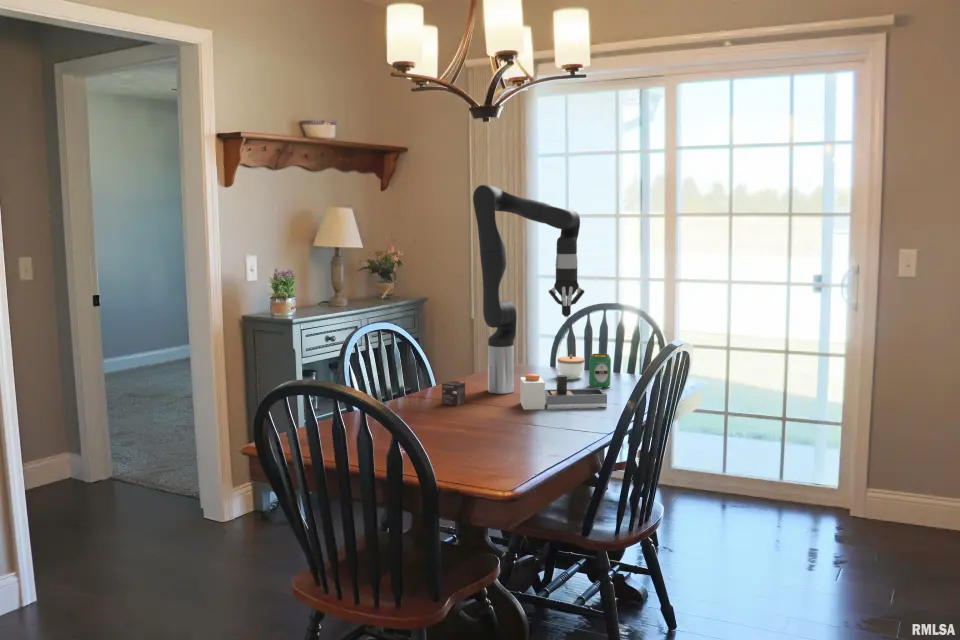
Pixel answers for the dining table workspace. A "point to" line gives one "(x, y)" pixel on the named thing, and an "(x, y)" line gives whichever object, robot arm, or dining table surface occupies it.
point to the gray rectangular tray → (576, 399)
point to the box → (453, 393)
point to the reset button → (532, 377)
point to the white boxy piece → (532, 394)
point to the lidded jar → (571, 366)
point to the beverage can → (599, 370)
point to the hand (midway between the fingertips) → (566, 316)
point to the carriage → (561, 386)
